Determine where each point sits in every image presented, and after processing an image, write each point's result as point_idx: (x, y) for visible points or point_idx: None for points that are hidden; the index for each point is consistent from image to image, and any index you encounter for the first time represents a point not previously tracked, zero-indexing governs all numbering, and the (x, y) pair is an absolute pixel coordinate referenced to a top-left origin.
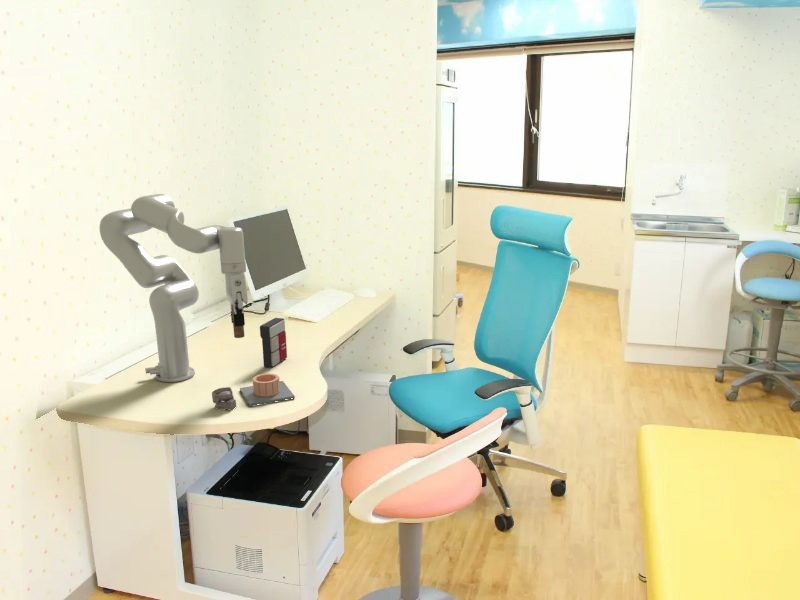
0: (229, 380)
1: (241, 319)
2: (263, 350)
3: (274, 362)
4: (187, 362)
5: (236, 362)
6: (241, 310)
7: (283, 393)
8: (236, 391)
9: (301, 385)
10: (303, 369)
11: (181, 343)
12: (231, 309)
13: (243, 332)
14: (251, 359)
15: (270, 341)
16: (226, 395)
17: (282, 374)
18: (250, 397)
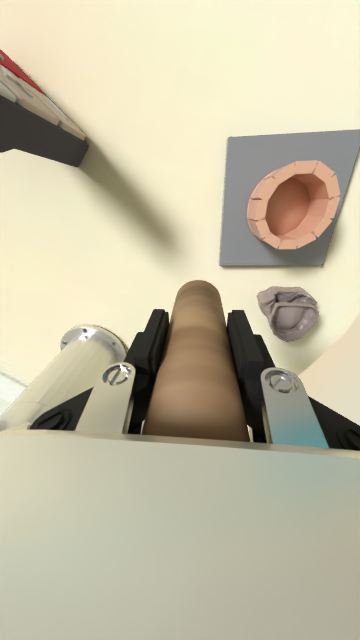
0: (147, 272)
1: (266, 353)
2: (48, 155)
3: (74, 125)
4: (90, 351)
5: (33, 234)
6: (351, 430)
7: (322, 162)
8: (217, 271)
9: (272, 70)
10: (128, 7)
11: (79, 393)
12: (143, 423)
13: (214, 294)
14: (12, 190)
15: (29, 108)
16: (315, 318)
17: (152, 119)
18: (289, 255)
